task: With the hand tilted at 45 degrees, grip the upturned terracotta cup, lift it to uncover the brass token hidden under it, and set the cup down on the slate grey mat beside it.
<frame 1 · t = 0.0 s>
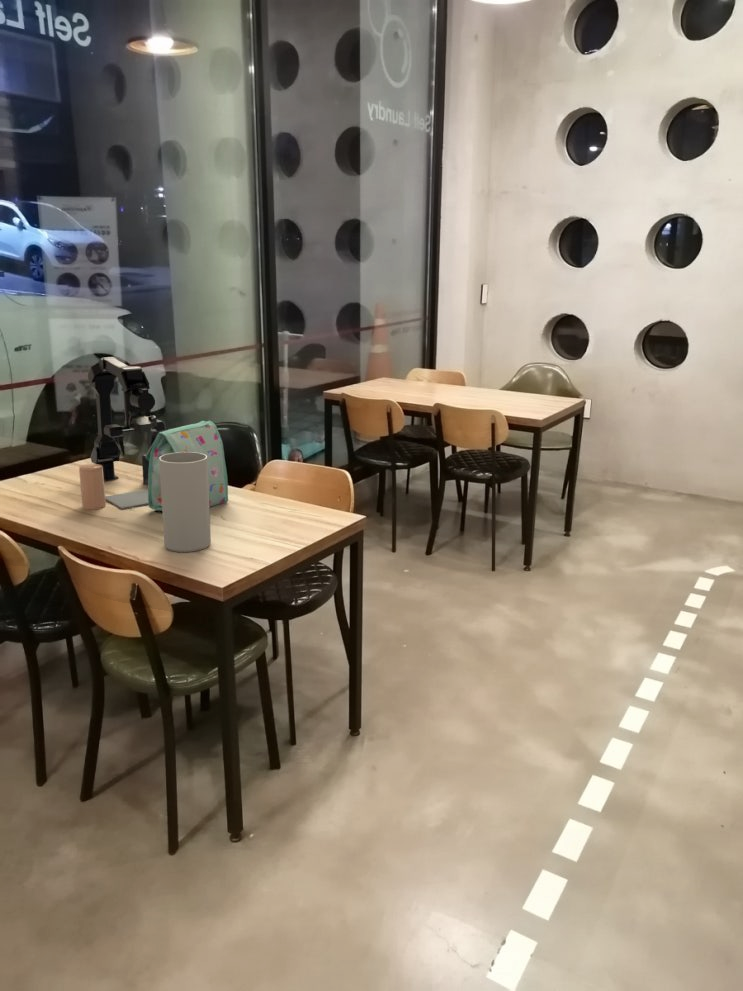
hand: (136, 453, 252), 15 cm above the table, tool pointing down, fingers open, 9 cm apart
slate mat: (134, 499, 252), on the table
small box: (157, 481, 275), on the table
terracotta cup: (94, 506, 245), on the table
brass token: (93, 502, 245), in the terracotta cup
cylinder vase: (187, 545, 213), on the table
lunch bag: (189, 507, 247), on the table
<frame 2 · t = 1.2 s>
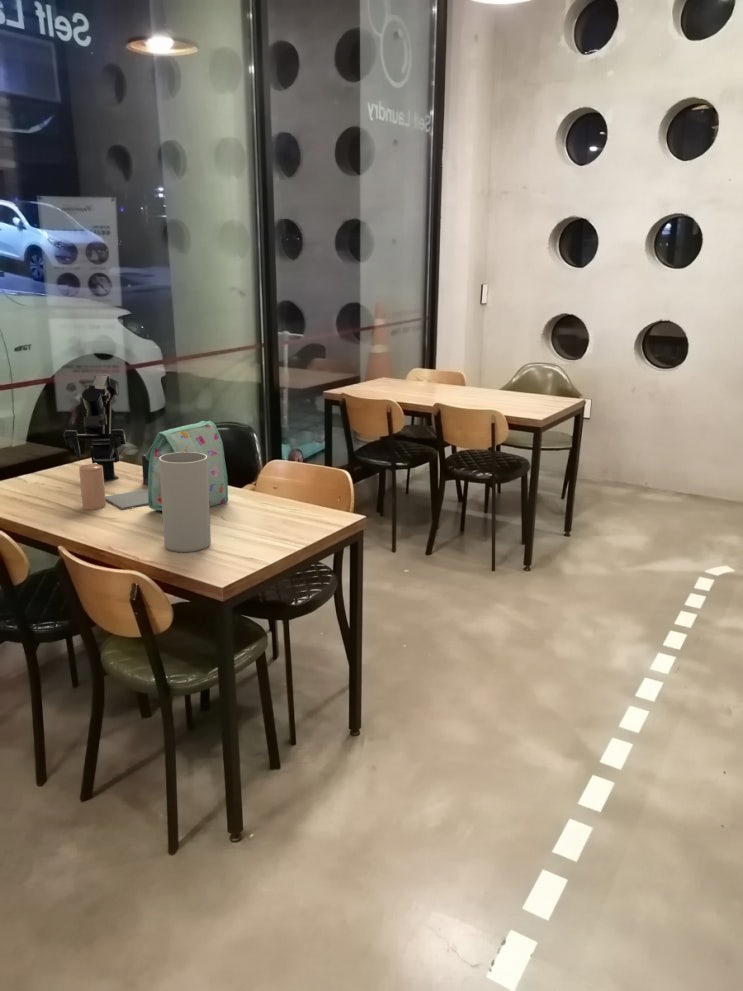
hand: (94, 459, 249), 13 cm above the table, tool tilted 45°, fingers open, 9 cm apart
nothing on the table moved.
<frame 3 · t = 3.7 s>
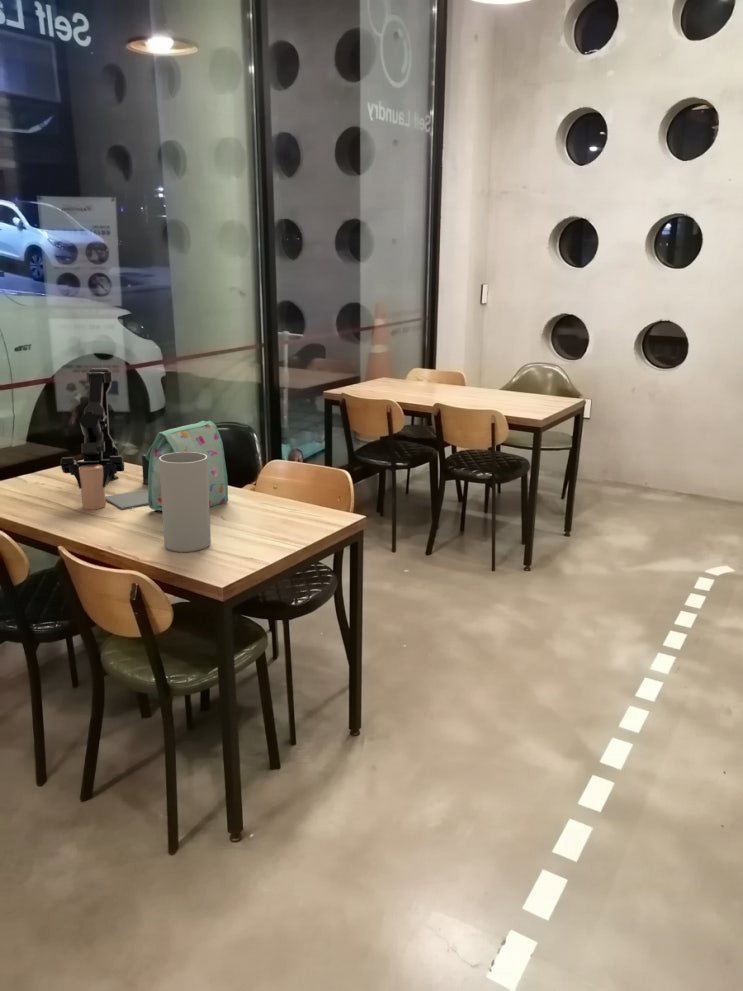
hand: (92, 487, 242), 7 cm above the table, tool tilted 45°, fingers closed on terracotta cup, 7 cm apart
terracotta cup: (94, 506, 245), on the table, touching gripper
everything else where it was.
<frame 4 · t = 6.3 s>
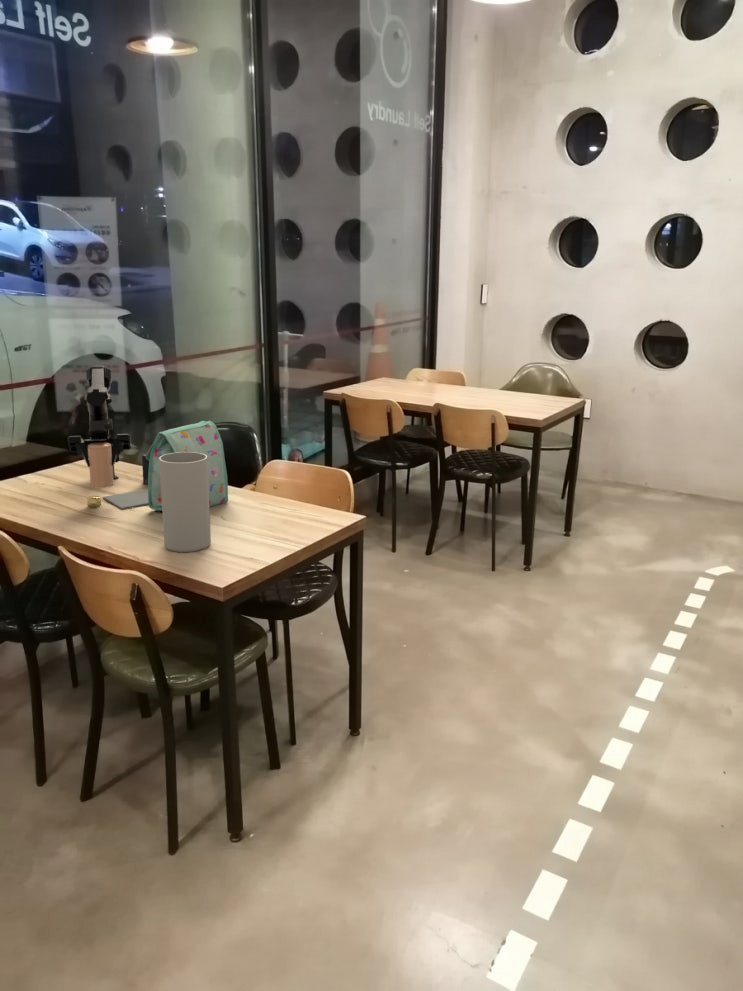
hand: (100, 465, 241), 13 cm above the table, tool tilted 45°, fingers closed on terracotta cup, 7 cm apart
terracotta cup: (102, 484, 245), point 7 cm above the table, touching gripper
everything else where it was.
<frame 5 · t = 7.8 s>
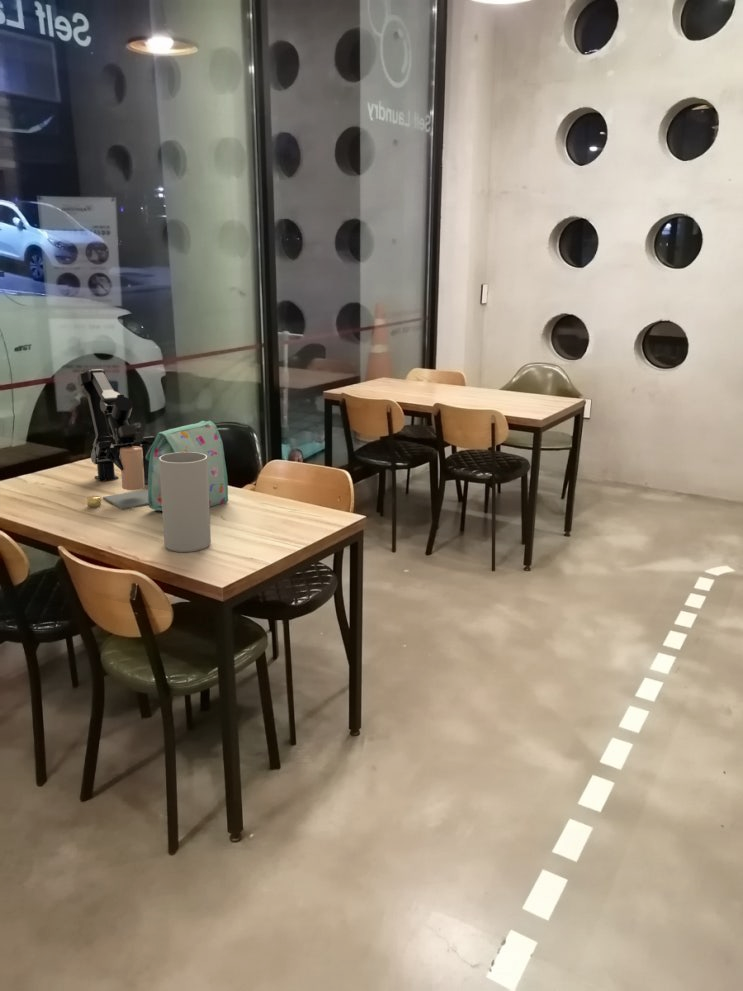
hand: (133, 468, 248), 11 cm above the table, tool tilted 45°, fingers closed on terracotta cup, 7 cm apart
terracotta cup: (133, 487, 251), point 4 cm above the table, touching gripper
everything else where it was.
when the fingers open (8 cm above the table, at t = 8.8 s): terracotta cup drops 1 cm, resting on slate mat.
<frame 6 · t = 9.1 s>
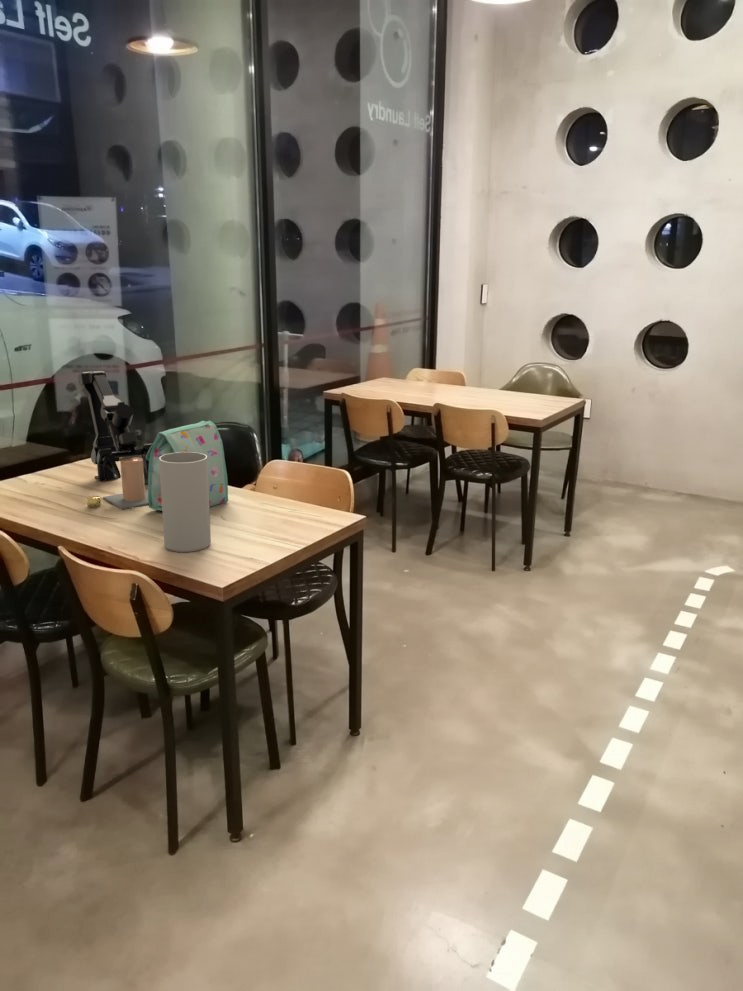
hand: (134, 475, 249), 9 cm above the table, tool tilted 45°, fingers open, 9 cm apart
terracotta cup: (134, 498, 252), point 1 cm above the table, touching slate mat
everything else where it was.
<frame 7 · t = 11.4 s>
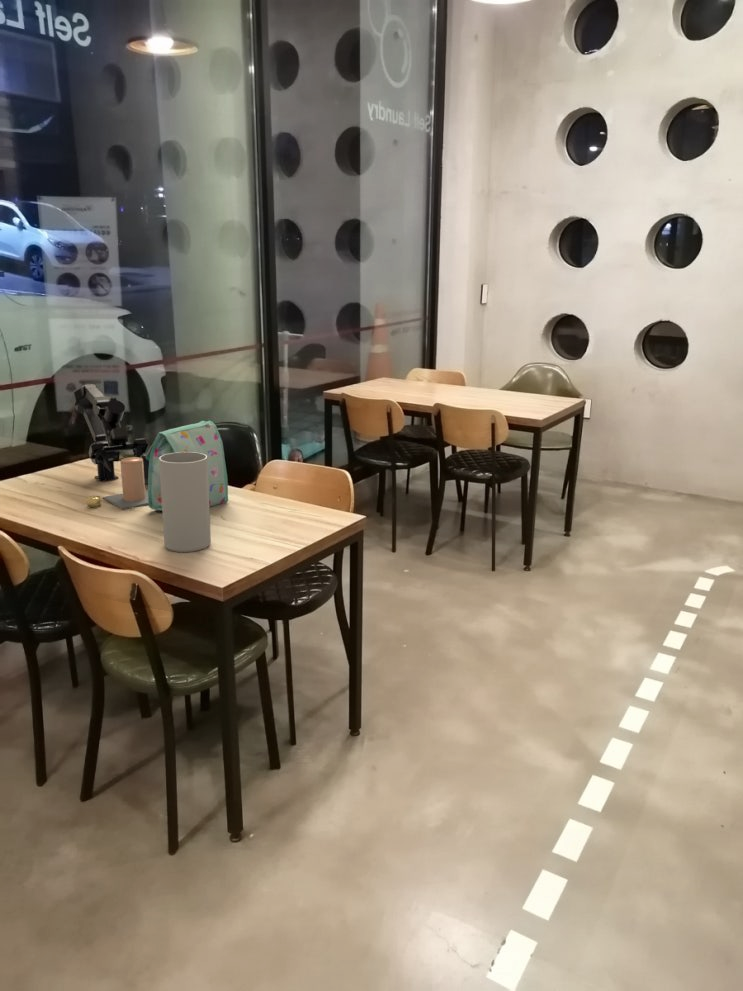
hand: (125, 469, 256), 8 cm above the table, tool tilted 45°, fingers open, 9 cm apart
nothing on the table moved.
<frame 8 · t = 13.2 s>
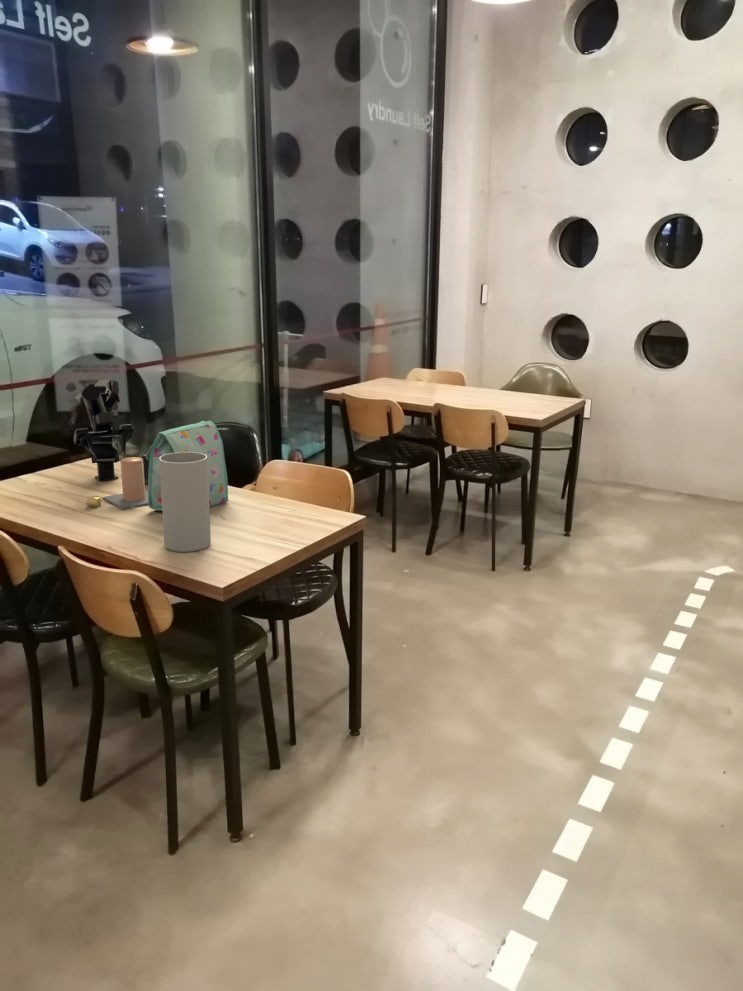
hand: (110, 455, 254), 14 cm above the table, tool tilted 45°, fingers open, 9 cm apart
nothing on the table moved.
at the end: terracotta cup inside the target area on the slate mat (0.1 cm from its centre), point 0.6 cm above the slate mat's base; terracotta cup tilted 0°; the gripper is holding nothing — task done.
